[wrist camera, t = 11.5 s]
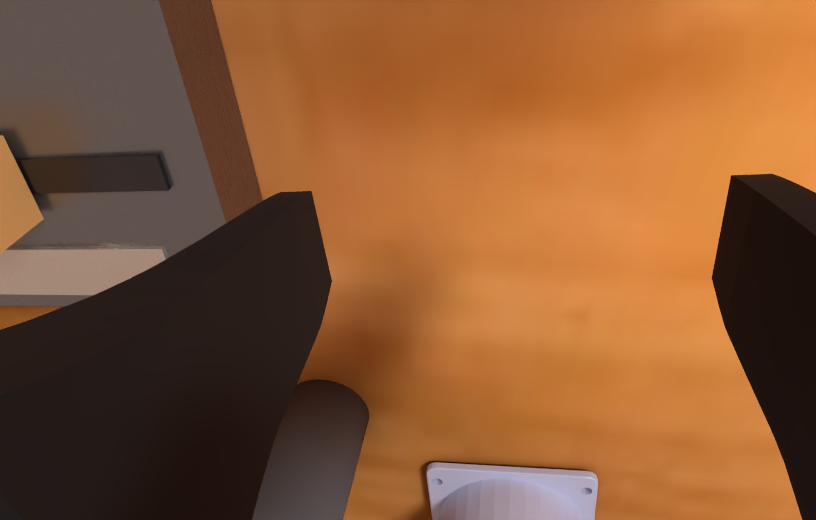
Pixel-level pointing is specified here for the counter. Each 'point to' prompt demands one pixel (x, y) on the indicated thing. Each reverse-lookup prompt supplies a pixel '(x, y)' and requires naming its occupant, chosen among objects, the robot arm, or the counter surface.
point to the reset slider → (14, 200)
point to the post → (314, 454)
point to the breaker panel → (116, 140)
